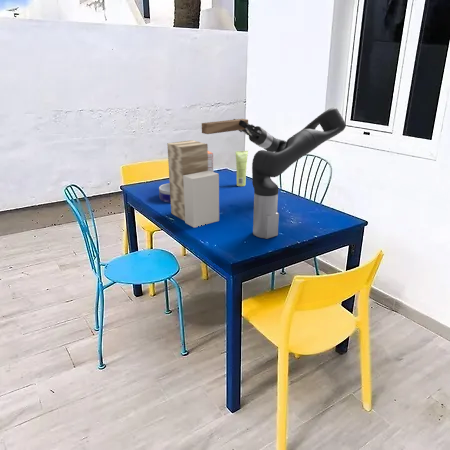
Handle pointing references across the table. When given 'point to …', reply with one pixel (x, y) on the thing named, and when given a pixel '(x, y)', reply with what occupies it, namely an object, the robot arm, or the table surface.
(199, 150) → the birch stand
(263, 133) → the robot arm
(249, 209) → the table surface
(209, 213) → the white block
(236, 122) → the light brown wooden block
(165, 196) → the dog bowl
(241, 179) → the tube
